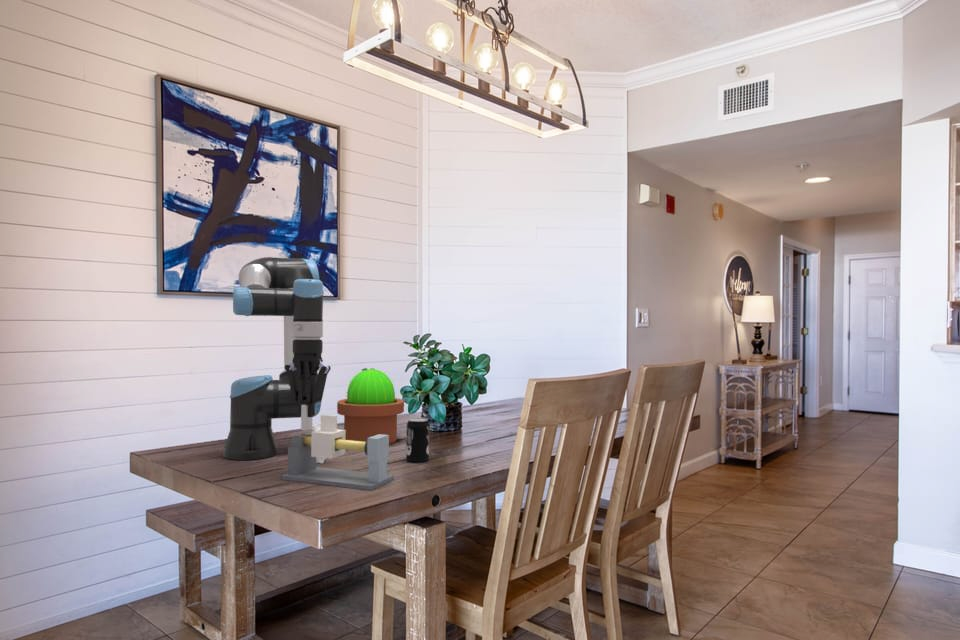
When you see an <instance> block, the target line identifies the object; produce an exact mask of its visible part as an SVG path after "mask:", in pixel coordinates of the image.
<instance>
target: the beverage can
mask: <svg viewBox="0 0 960 640" xmlns="http://www.w3.org/2000/svg"><path fill="white" fill-rule="evenodd" d="M407 420H408V421H407V422H406V440H405V441H406V445H405V446H406V447H405V448H406V449H405V450H406V452H405V455H406V456H405V457H406V460H407V462H410V463H415V464H416V463H418V464H420V463H425V462H427V461H428V460H429V459H430V423H429V421H428V420H429V419H428V418H425V417H411V418H408V419H407Z"/></svg>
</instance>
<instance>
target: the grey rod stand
mask: <svg viewBox="0 0 960 640" xmlns="http://www.w3.org/2000/svg"><path fill="white" fill-rule="evenodd" d="M311 437H312V433H306V432H304V433H300V435H292V436H291V446H289V447H287V473H286V474H283V475H282V476H281V480H282V481H291V482H297V483H300V482H302V483H306V484H307V483H308V484H316V485H322V486H323V485H324V486H333V487H339V488H340V487H342V488H348V489H355V488H356V489H357V490H363V491H364V490H365V491H373V490H376V489H378V488H380V487H381V486H384V485H386V484H388V483H390V482H392V481H394V480H395V475H393V474H388V459H389V457H390V456H389V455H390V452H389V451H390V448H389V447H390V444H389V435H382V434H378V435H375V436H372V437H369V438H368V439H367V441H366V442H363V441H352V440H341V439H335V449H344V450H345V451H353V452H355V451H356V452H364V454H365V455H366V457H367V460H366V461H367V462H368V472H365V471H358V470H357V471H355V470H347V469H340V468H339V469H338V468H331V467H319V466H317V463H316V457H311Z"/></svg>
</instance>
